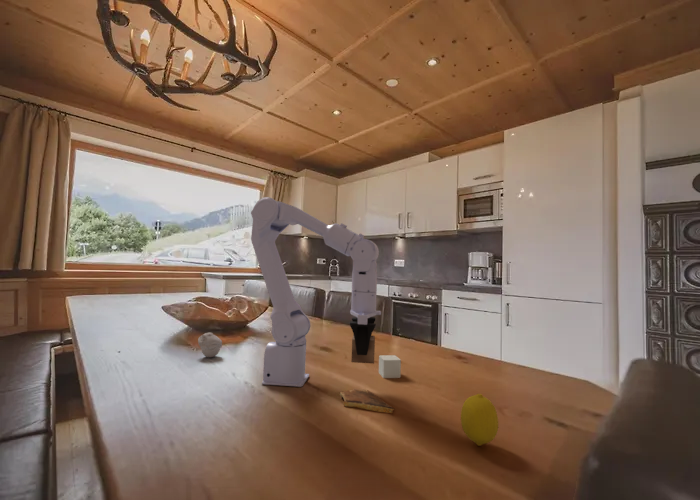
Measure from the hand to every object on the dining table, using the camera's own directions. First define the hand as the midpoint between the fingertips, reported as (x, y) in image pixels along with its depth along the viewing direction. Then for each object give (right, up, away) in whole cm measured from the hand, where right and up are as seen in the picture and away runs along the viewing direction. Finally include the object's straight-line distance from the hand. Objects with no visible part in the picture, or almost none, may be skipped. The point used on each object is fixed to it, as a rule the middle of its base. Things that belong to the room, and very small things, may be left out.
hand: (362, 351), depth 74 cm
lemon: (+18, -8, -23) cm, 30 cm away
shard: (+1, -9, -7) cm, 11 cm away
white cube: (+7, -9, +10) cm, 16 cm away
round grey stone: (-44, -8, +21) cm, 49 cm away
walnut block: (0, -2, 0) cm, 2 cm away
